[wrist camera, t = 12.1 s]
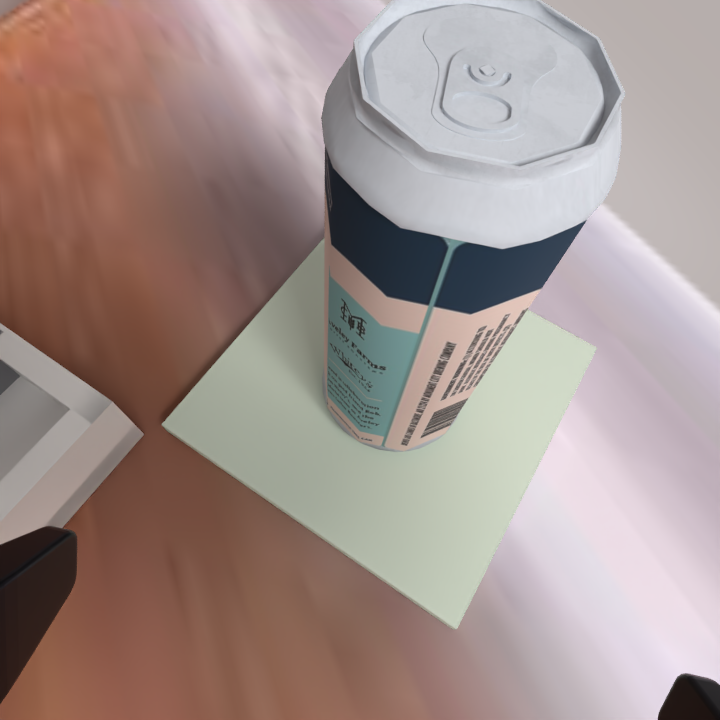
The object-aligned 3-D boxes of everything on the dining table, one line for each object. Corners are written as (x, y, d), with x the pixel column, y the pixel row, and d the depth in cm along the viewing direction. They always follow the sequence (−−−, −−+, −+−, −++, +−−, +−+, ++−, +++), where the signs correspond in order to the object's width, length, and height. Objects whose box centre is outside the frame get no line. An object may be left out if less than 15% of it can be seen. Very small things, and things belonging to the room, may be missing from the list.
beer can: (468, 343, 19) (649, 1, 9) (451, 470, 17) (661, 228, 7) (339, 315, 20) (359, -54, 9) (306, 438, 18) (281, 151, 7)
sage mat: (589, 354, 20) (597, 347, 20) (452, 629, 16) (456, 629, 15) (346, 220, 22) (347, 210, 22) (166, 430, 18) (161, 424, 17)
